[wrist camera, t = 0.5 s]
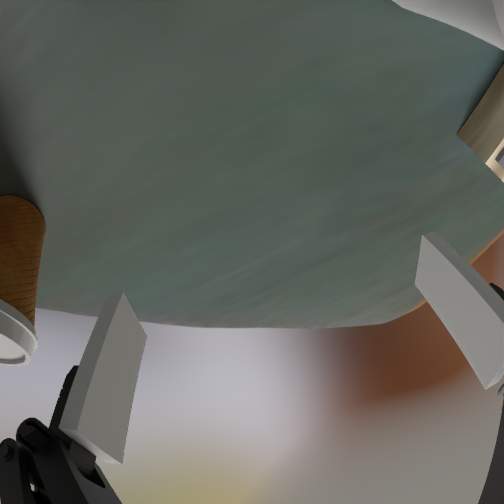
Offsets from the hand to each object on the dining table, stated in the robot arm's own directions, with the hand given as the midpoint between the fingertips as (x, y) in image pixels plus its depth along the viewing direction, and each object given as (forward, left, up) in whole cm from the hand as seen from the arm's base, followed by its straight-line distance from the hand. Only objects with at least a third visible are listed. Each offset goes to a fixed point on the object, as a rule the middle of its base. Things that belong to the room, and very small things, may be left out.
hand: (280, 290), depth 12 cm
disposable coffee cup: (+1, -21, -13) cm, 24 cm away
